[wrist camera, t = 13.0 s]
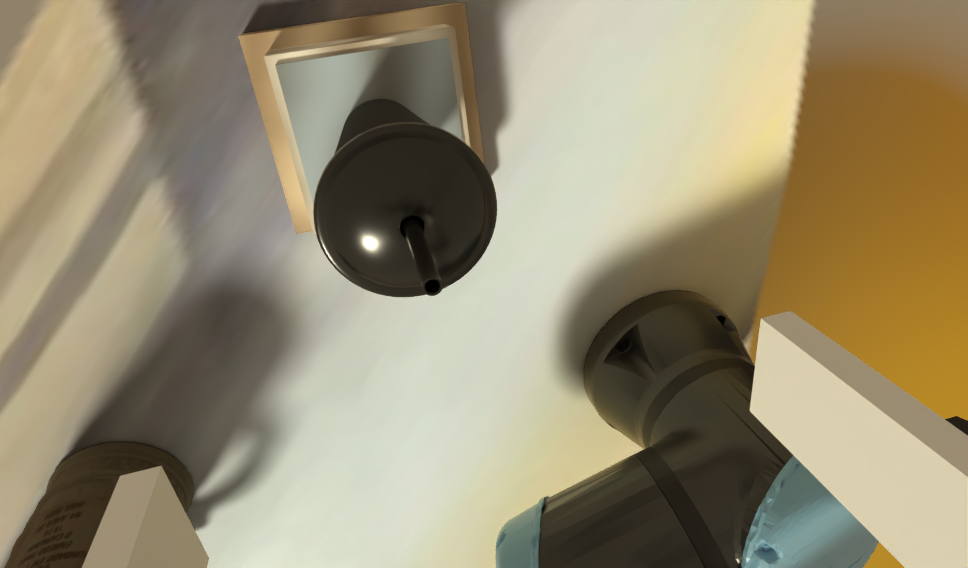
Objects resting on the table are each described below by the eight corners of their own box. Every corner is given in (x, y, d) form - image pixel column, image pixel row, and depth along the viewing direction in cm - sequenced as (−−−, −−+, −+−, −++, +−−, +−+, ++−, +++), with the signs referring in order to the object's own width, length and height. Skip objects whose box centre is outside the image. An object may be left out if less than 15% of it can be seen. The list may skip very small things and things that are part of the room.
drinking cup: (386, 44, 34) (450, 117, 17) (467, 145, 38) (586, 288, 21) (289, 131, 35) (254, 284, 18) (377, 221, 39) (418, 419, 22)
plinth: (458, 2, 39) (478, 5, 34) (481, 188, 46) (501, 213, 41) (242, 33, 37) (229, 42, 32) (297, 223, 43) (293, 255, 38)
